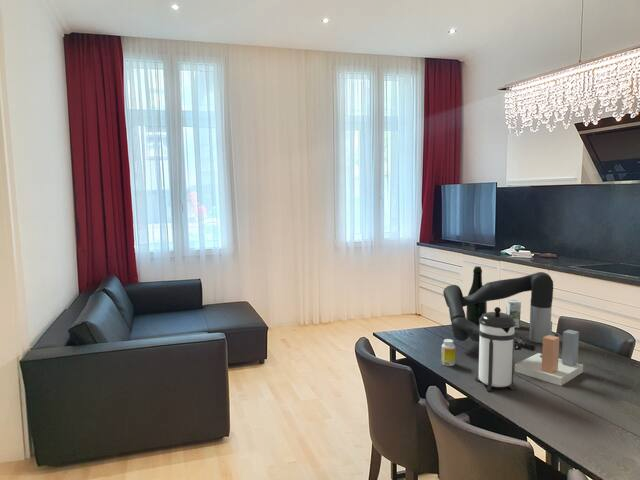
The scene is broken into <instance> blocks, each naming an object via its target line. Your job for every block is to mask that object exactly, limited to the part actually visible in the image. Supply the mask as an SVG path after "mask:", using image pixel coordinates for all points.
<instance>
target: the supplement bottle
mask: <svg viewBox="0 0 640 480" xmlns="http://www.w3.org/2000/svg"><path fill="white" fill-rule="evenodd" d="M440 359H441V362H440V363H441V364H442V366H443V365H444V366H447V367H451V366H455V364H456V345H455V344H454V340H453V339H450V338H445V339H443V343H442V344H441V358H440Z"/></svg>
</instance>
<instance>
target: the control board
mask: <svg viewBox="0 0 640 480" xmlns="http://www.w3.org/2000/svg"><path fill="white" fill-rule="evenodd" d="M514 372H515V373H517V374H521V375H524V376H528V377H531V378H535V379H537V380H541V381H543V382H547V383H551V384H554V385H557V386H559V387H561V386H563V385H565V384H566V383H568V382H569V381H571V380H572V379H574V378H576V377H578V376H579V375H580V374H582V373H584V364H581V363H579V362H578V363H577V364H575V365H573V366H570V365H566V364H562V358H559V357H558V370H557V371H555V372H553V373H550V372H546V371H543V370H542V353H540V352H537V353H536V354H534V355H531V356H529V357H527V358H524V359H523V360H521V361H519V362H517V363H514Z"/></svg>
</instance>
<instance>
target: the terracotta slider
mask: <svg viewBox="0 0 640 480" xmlns="http://www.w3.org/2000/svg"><path fill="white" fill-rule="evenodd" d="M559 351H560V336H559V337H556V336H551V335H548V336H545V337H543V343H542V351H541V354H542V370H543V371H546V372H550V373H553V372H555V371H557V370H558V358H559V356H560V355H559V354H560V353H559Z"/></svg>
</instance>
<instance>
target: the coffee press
mask: <svg viewBox="0 0 640 480" xmlns="http://www.w3.org/2000/svg"><path fill="white" fill-rule="evenodd" d="M501 311H502V309H501V308H500V307H499V306H497V307H496V306H495V308H494V309H493V311H489V312H488V311H487V313H485V314H483V315H482V316H481V318H480V319H479V323H480V328H479V342H478V371H477V372H478V373H477V376H476V377H474V380H475V382H479V381H480V382H482V383H483V384H485V385H487V386H486V391H487V392H492V391H493V387H494V388H505V387H509V388H510V390H511V391H515V390H517V385H516V384H515V382H514V372H515V350H514V345H515V338H516V331H515V329H516V328H515V326H516V322H515V321H514V318H513V317H512V316H510V315H508V314H506V313H504V312H501ZM477 378H478V379H477Z"/></svg>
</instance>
